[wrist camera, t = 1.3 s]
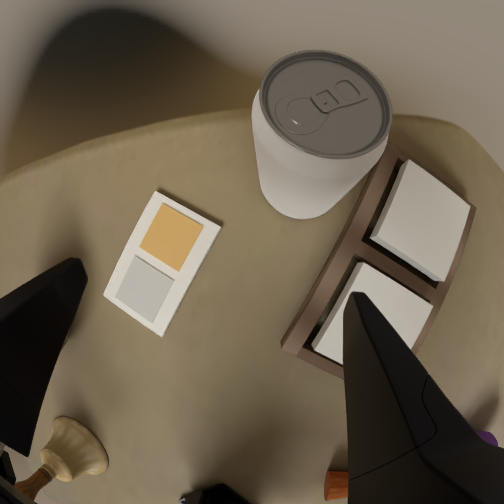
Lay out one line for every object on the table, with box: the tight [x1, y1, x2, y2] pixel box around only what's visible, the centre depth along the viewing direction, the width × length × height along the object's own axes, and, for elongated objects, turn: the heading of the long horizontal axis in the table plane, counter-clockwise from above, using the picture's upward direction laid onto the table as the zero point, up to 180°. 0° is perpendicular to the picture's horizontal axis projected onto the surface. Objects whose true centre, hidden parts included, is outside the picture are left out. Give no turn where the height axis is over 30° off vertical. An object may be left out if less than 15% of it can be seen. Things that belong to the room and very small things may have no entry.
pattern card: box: [103, 191, 222, 337], centre depth 22 cm, size 10×6×1 cm, turn 151°
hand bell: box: [14, 417, 108, 501], centre depth 14 cm, size 8×8×16 cm
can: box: [252, 50, 393, 219], centre depth 16 cm, size 6×6×12 cm
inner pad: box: [311, 262, 433, 364], centre depth 18 cm, size 7×7×2 cm
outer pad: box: [370, 159, 470, 281], centre depth 18 cm, size 7×7×2 cm
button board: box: [281, 142, 476, 380], centre depth 20 cm, size 18×10×2 cm, turn 151°
